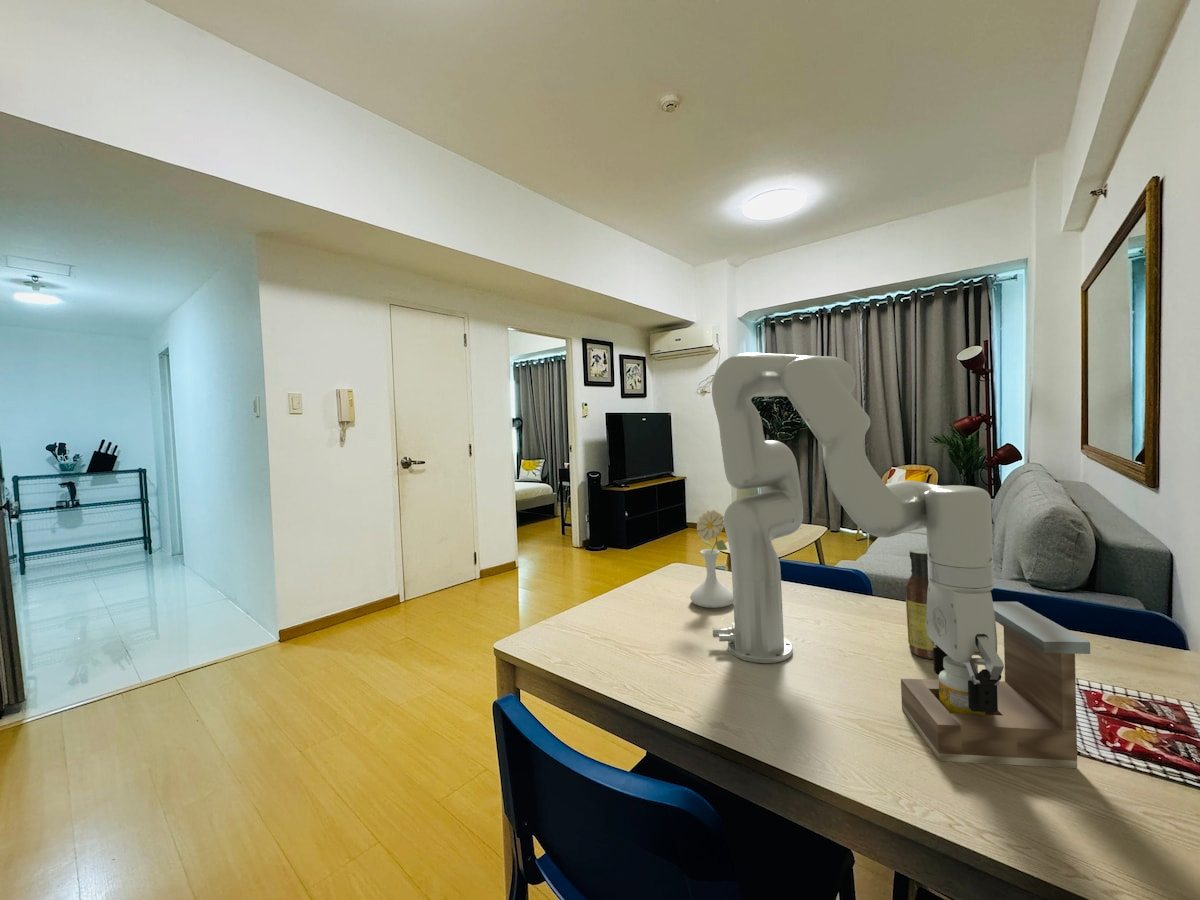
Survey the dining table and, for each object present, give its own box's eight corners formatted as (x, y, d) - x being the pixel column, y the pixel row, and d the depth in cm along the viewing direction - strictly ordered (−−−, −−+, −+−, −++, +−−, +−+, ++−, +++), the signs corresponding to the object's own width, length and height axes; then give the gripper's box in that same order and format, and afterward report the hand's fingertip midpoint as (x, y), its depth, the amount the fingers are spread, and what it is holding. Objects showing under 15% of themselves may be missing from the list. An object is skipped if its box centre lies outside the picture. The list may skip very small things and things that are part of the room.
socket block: (942, 765, 65) (938, 640, 65) (899, 705, 79) (895, 601, 78) (1092, 774, 62) (1090, 642, 61) (1020, 710, 76) (1017, 601, 75)
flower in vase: (683, 600, 132) (677, 507, 131) (720, 593, 135) (715, 503, 134) (707, 617, 119) (701, 515, 118) (748, 609, 123) (743, 509, 122)
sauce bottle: (953, 661, 92) (950, 555, 91) (916, 660, 93) (912, 556, 92) (937, 645, 98) (933, 546, 97) (902, 644, 99) (898, 547, 98)
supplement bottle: (984, 743, 68) (982, 674, 67) (937, 729, 71) (935, 664, 71) (986, 723, 72) (984, 658, 71) (942, 711, 75) (939, 650, 75)
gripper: (904, 557, 79) (908, 661, 80) (962, 594, 62) (967, 726, 63) (957, 556, 78) (960, 662, 79) (1030, 594, 61) (1034, 729, 62)
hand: (963, 691), depth 71 cm, fingers open, 9 cm apart
